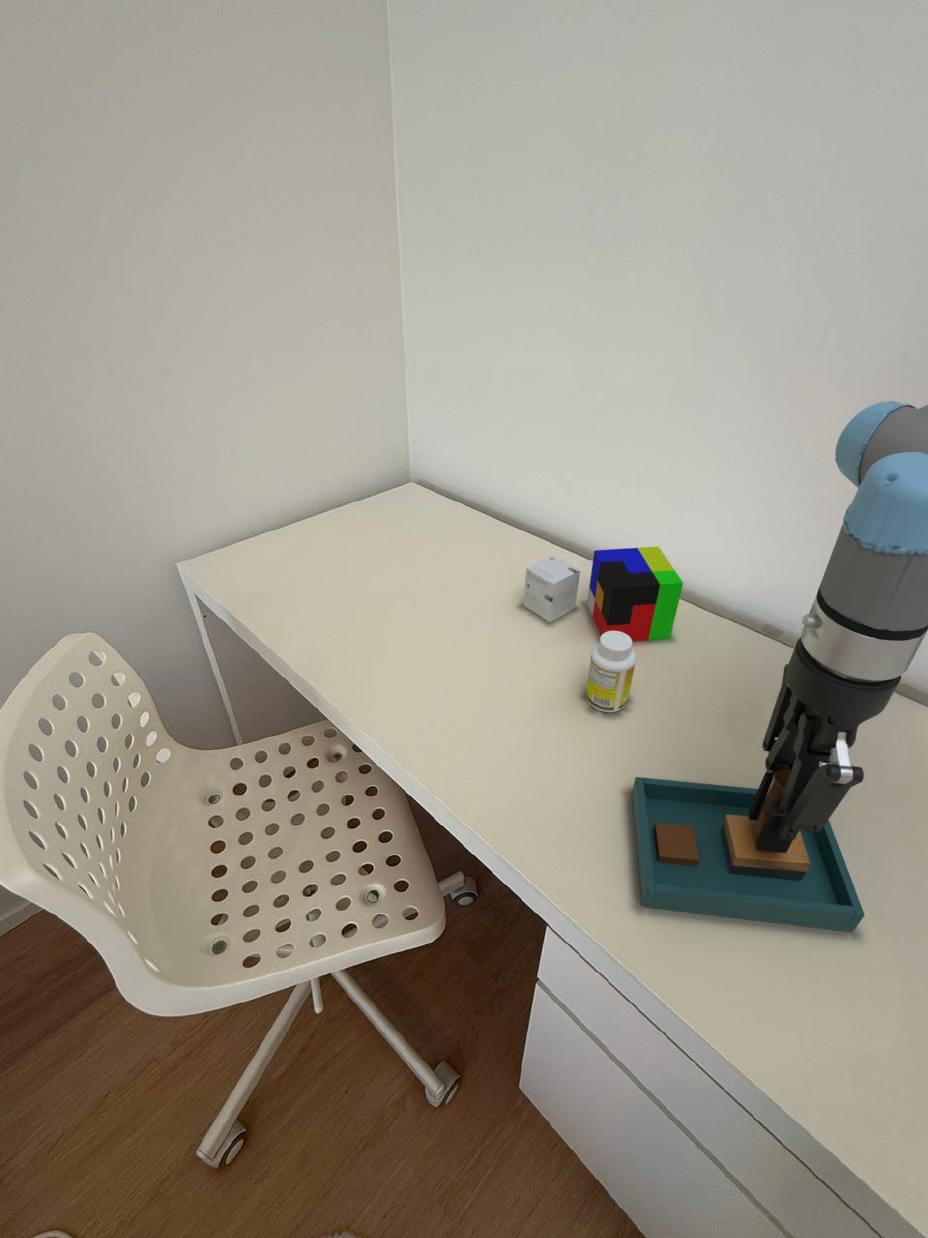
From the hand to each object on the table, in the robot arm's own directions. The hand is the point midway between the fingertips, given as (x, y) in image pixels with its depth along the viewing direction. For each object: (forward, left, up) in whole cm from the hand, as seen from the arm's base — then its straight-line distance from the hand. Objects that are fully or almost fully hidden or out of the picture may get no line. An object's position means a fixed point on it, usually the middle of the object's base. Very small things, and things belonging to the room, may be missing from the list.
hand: (766, 832), depth 65 cm
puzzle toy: (+10, -40, -5) cm, 42 cm away
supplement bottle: (+14, -22, -5) cm, 27 cm away
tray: (+2, 0, -5) cm, 5 cm away
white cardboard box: (+22, -42, -5) cm, 48 cm away
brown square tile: (+8, 0, -4) cm, 9 cm away
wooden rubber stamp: (0, 0, -4) cm, 4 cm away
